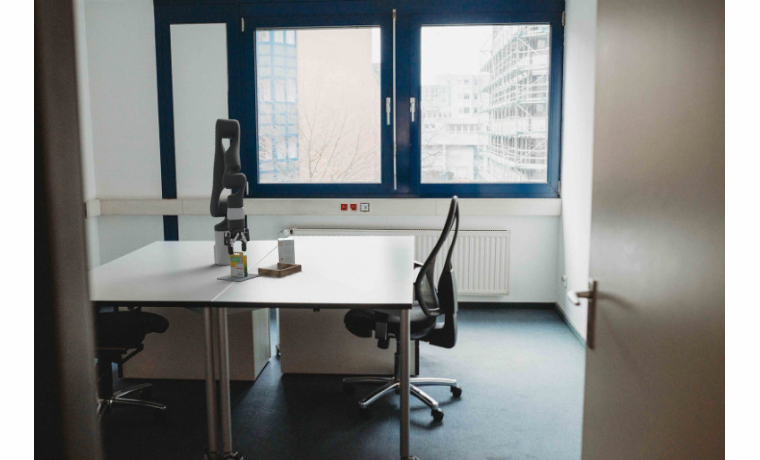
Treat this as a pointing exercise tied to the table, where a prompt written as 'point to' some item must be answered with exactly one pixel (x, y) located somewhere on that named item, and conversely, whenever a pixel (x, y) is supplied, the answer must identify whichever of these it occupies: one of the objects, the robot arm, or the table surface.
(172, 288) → the table surface
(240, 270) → the crayon box
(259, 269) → the walnut bay
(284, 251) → the small box
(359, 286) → the table surface
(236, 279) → the slate mat
